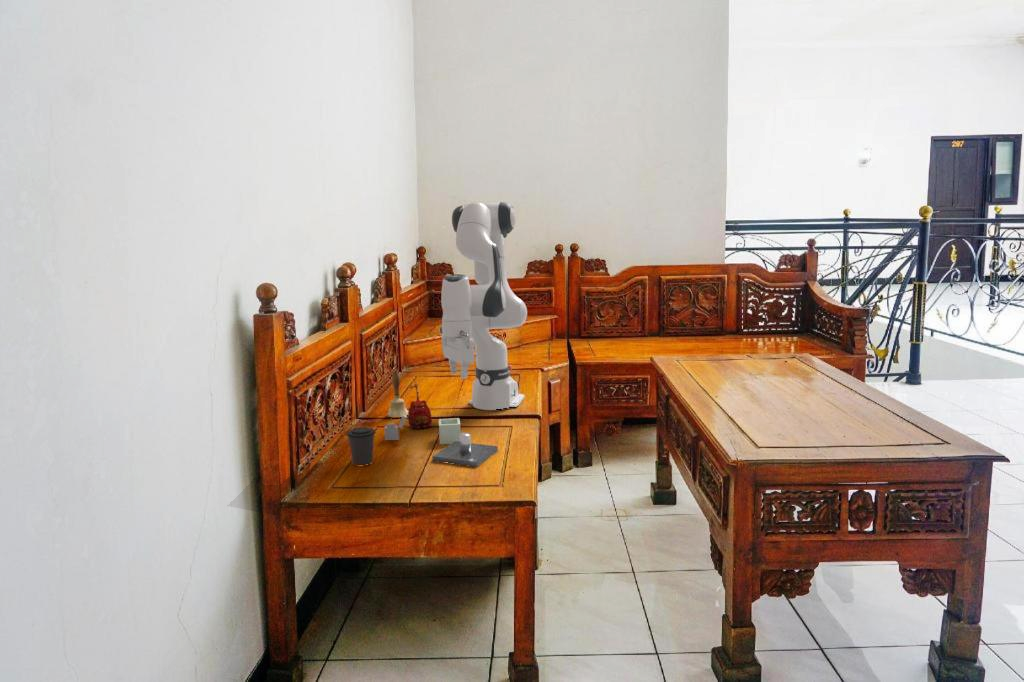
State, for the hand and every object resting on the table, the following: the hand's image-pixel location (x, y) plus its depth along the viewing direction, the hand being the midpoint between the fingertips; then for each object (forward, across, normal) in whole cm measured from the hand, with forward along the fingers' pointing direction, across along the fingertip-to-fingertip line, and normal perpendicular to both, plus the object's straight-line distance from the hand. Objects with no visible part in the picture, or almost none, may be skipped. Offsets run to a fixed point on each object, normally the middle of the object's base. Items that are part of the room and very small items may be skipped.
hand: (458, 375), depth 215 cm
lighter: (+21, +14, +17) cm, 30 cm away
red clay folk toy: (+20, +23, +7) cm, 32 cm away
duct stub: (+22, -10, +2) cm, 24 cm away
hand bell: (+19, +40, +10) cm, 45 cm away
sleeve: (+21, +6, +2) cm, 22 cm away
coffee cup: (+22, -3, +30) cm, 37 cm away
